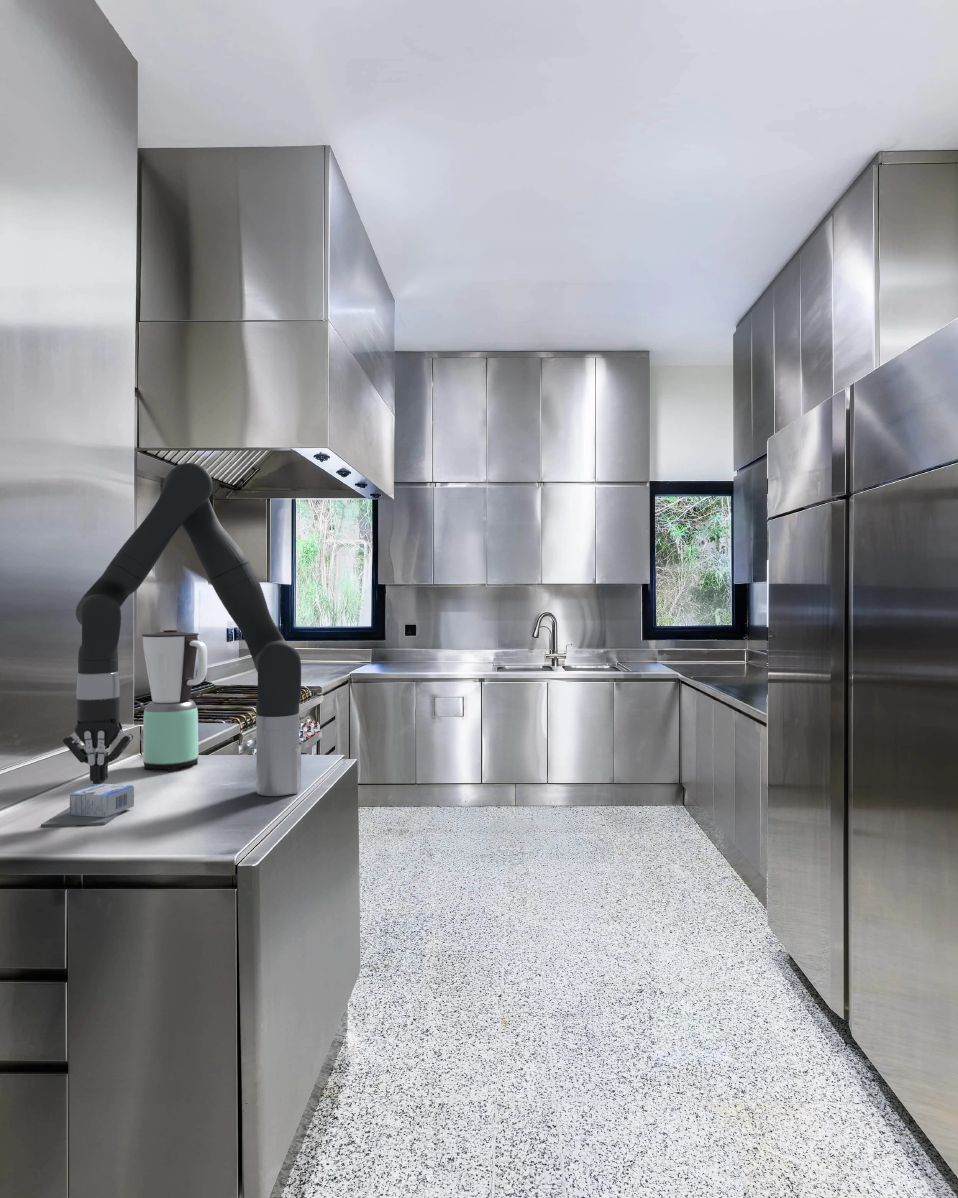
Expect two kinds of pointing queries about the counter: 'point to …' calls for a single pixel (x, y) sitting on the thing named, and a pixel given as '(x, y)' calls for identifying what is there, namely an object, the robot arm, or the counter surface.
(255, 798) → the counter surface
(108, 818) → the mat
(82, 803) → the medicine box
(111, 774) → the counter surface
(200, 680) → the blender
